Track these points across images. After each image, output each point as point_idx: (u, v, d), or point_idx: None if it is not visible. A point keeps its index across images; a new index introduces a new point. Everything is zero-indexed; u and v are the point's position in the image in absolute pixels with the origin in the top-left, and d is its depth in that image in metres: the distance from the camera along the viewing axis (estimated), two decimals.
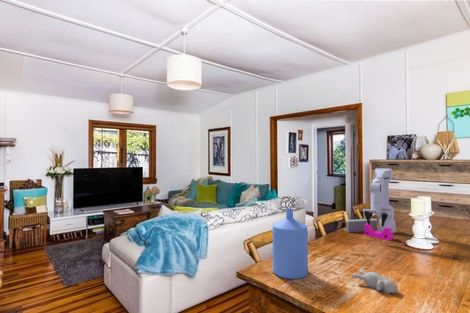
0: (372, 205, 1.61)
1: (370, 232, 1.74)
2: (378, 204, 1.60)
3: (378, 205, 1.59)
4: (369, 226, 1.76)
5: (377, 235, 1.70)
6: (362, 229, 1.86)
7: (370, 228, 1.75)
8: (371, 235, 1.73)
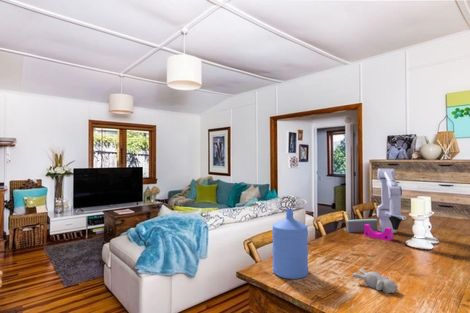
0: (389, 209, 1.60)
1: (370, 233, 1.72)
2: (394, 208, 1.57)
3: (394, 209, 1.57)
4: (369, 227, 1.74)
5: (377, 236, 1.69)
6: (362, 229, 1.86)
7: (370, 229, 1.74)
8: (371, 236, 1.71)
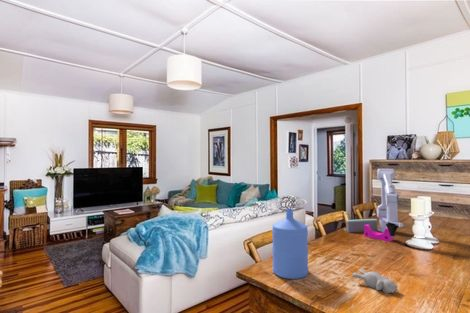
0: (386, 216, 1.62)
1: (370, 233, 1.71)
2: (391, 215, 1.59)
3: (391, 216, 1.59)
4: (369, 227, 1.73)
5: (377, 236, 1.68)
6: (362, 229, 1.86)
7: (370, 229, 1.73)
8: (371, 236, 1.70)
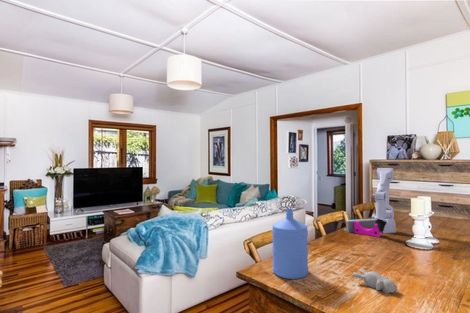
0: (376, 213, 1.72)
1: (360, 229, 1.79)
2: (380, 212, 1.69)
3: (380, 213, 1.69)
4: (358, 223, 1.82)
5: (367, 232, 1.76)
6: None
7: (359, 225, 1.81)
8: (361, 232, 1.79)
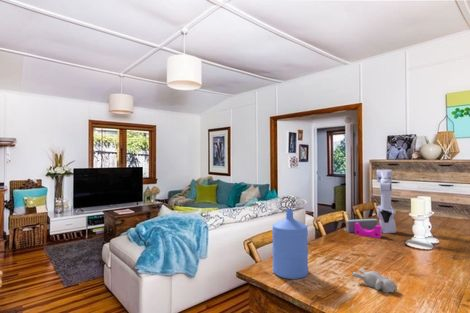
0: (381, 204, 1.73)
1: (361, 231, 1.77)
2: (385, 203, 1.70)
3: (385, 204, 1.70)
4: (359, 225, 1.79)
5: (368, 233, 1.74)
6: None
7: (360, 227, 1.79)
8: (362, 234, 1.76)
